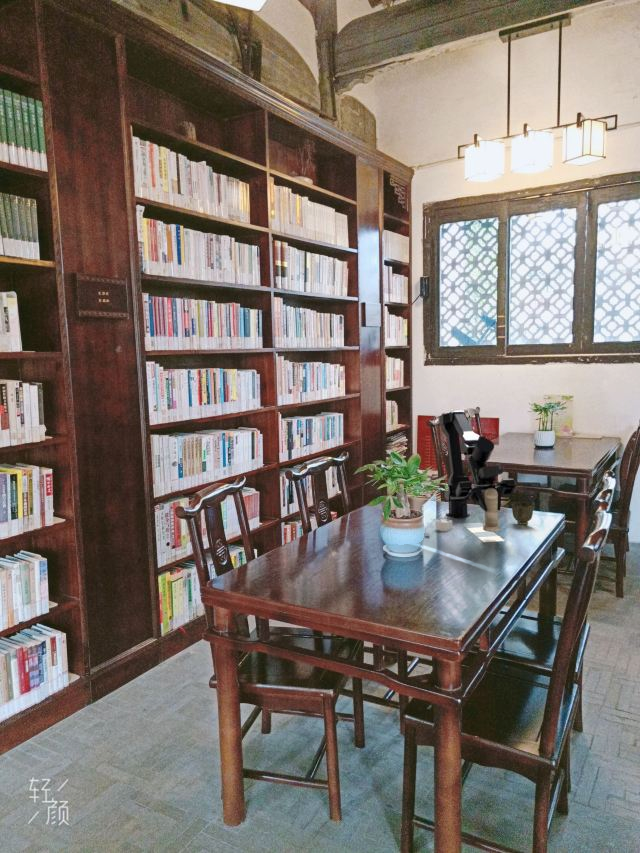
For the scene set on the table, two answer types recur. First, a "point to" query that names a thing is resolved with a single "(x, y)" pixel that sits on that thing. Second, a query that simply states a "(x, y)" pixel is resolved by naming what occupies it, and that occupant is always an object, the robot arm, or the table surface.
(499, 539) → the board
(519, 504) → the cup
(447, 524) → the die
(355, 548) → the table surface
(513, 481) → the robot arm
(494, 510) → the round-topped post
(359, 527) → the table surface
